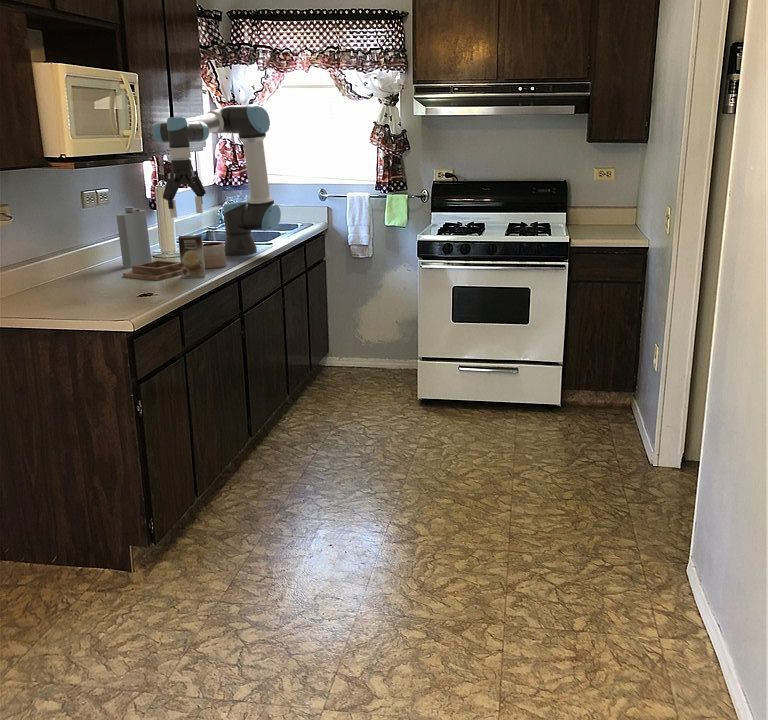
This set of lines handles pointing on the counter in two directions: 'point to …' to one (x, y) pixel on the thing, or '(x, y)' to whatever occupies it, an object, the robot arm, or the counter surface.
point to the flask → (133, 237)
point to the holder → (155, 270)
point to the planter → (214, 255)
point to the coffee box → (192, 256)
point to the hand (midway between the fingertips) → (187, 215)
